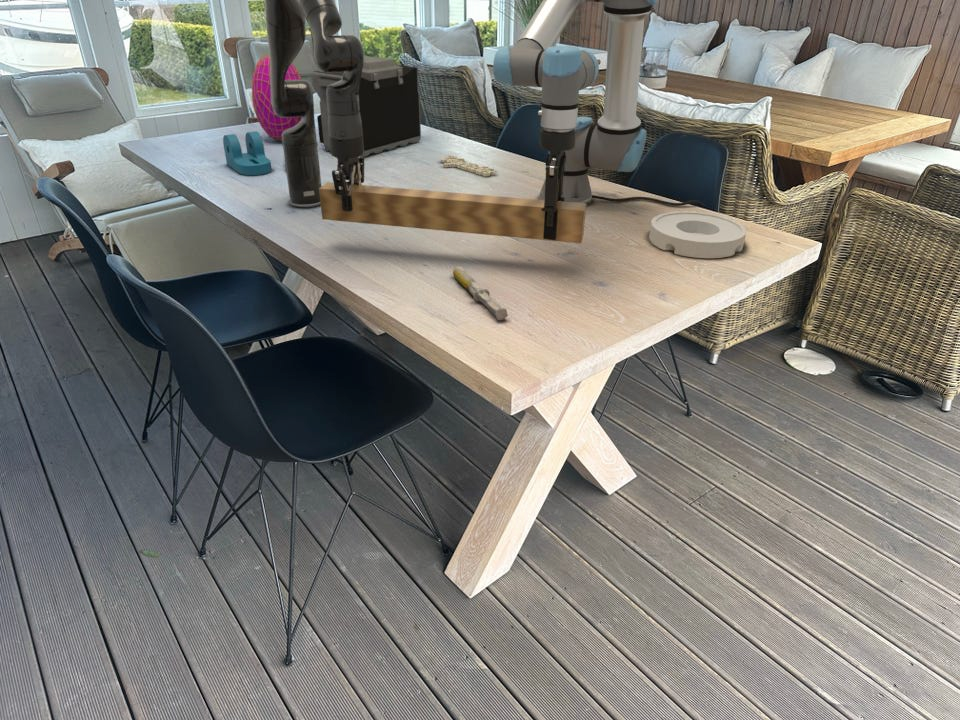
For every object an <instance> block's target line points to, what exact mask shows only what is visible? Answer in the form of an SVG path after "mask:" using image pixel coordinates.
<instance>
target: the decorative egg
mask: <svg viewBox="0 0 960 720" xmlns="http://www.w3.org/2000/svg"><path fill="white" fill-rule="evenodd" d="M253 70H254V71H253V73H252V77H251V101H252V107H253V110H254V114H255V116H256V118H257V121H258V123H259V125H260V127H261V128H262V130H263V131H264V133H266V135H267V136H268V137H270V138H271V139H273V140H275V141H281V142H282V133H283V132H284V131H285V130H287V129H289V128H291V127H293V126H295V125H296V124H297V123H299V122H300V120H301V118H302V117H286V118H283V117H278V116H276V114H275V113H274V111H273V108H272V104H271V92H270V55H269V54H268V55H265V56H262V57H261V58H260V59H259V60H258V61H257V62H256V65H255V68H254V69H253ZM285 80H302V77H301V75H300V73H299V71H298V69H297V67H296V66H295V65H294V63H293V62H292V63H291V65H290V67H289V68H288V71H287V73H286V77H285Z"/></svg>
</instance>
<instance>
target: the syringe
mask: <svg viewBox="0 0 960 720" xmlns="http://www.w3.org/2000/svg"><path fill="white" fill-rule="evenodd" d="M452 274H453V277H454V279H455V280H457V281H458V282H459V283H460V285H462V287H464V289H466V290H467V291H468V293H470V295H471V296H472V298H473V300H474V302H477V303H478V302H480V303H482V304H483V305H484V306H485V307H486V308H487V309H488V310H489V311H490V312H491V313H492V314H493V315H494V316H495V317H496V320H497V321H503V320H504V319H506V318H507V317H509V314H508V310H507V308H506V307H502V306H501V305H500V303H498V302H497V301H496V300H494V299H493V298H492V297H491V296H490V295H491V293H490V290H488V289H486V288H483V287H482V286H481V285H480V284H479V283H478V282H477V281H476V280H474V278H473V277H471V275H469V274H468V273H467V272H466V270H465V269H464V268H463V267H462V266H456V267H454V268H453V271H452Z"/></svg>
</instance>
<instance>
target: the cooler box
mask: <svg viewBox="0 0 960 720" xmlns="http://www.w3.org/2000/svg"><path fill="white" fill-rule="evenodd" d="M343 75H344V72H333V73H327V72H324V71H322V70H314V71H313V70H312V71H310V79H311V87H313V88H312V89H313V90H314V91H315V93H316V94H317V96H318V98H319V110H320V111H319V112H320V114H319V115H317V116H316V119H317V128H318V138H319V143H320V144H323V146H324V149H325V150H327V151H330V141H329V130H328V109H327V99H326V88H327V87H328V86H329V85H331V84H333V83H336V82H338V81H340V80H341V79H342V77H343ZM419 91H420V89H419V68H418V67H417V66H408V65H400V64H396V62H395V60H394V59H393V58H385V57H377V56H367V55H364V64H363V69H362V74H361V80H360V87H359V105H360V116H361V120H362V130H363V144H364V154H363V155H362V156H360V157H364V158H366V157H367V158H368V157H369V155H371V154H375V155H377V154H381V153H382V152H383V151H391V150H395V149H396V148H397V147H405V146H407V145H408V144H416V143H418V142H419V141H421V137H422V128H421V97H420V92H419Z"/></svg>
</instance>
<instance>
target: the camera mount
mask: <svg viewBox="0 0 960 720" xmlns="http://www.w3.org/2000/svg"><path fill="white" fill-rule="evenodd" d="M222 140H223V141H222V143H223V149H224V150H223V151H224V156H225V161H226V165H227V166H228V167H230V168H231V169H232V170H234V171H236V172H237V173H238V174H239V175H244V176H260V175H265V174H268V173H271V172H272V164H271V159H270V158H268V157H267V156H266V153H265V145H264V141H263V139H262V136H261V134H260V132H258V131H247V132H246V133H245V146H246V152H243V151H242V150H243V149H242V146H241V142H240V140H239V138H238V135H236V134H235V133H231V134H224V135H223V138H222Z"/></svg>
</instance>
